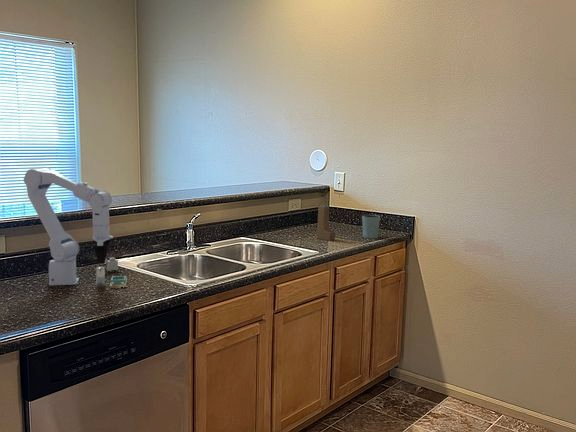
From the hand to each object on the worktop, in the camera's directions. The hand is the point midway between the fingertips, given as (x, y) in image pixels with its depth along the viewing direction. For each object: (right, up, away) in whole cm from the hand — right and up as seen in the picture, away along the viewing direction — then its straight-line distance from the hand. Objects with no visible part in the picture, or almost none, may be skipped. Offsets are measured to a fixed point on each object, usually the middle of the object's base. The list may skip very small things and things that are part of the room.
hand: (102, 260), depth 206 cm
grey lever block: (-5, -6, +22) cm, 23 cm away
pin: (-1, -9, +1) cm, 10 cm away
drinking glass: (+115, +5, +107) cm, 157 cm away
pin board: (+5, -9, +4) cm, 11 cm away
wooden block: (+89, +4, +97) cm, 132 cm away
